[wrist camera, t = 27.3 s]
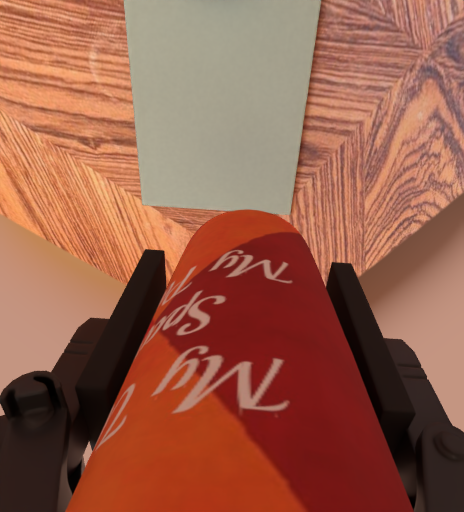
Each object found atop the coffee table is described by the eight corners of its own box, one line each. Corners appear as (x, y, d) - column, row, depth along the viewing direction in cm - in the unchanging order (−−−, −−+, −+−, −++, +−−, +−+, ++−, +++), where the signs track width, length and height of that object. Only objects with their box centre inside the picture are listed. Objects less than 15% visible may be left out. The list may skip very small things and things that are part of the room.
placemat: (342, -155, 21) (344, -158, 21) (289, 213, 34) (290, 215, 33) (110, -165, 22) (108, -168, 21) (143, 203, 34) (142, 205, 34)
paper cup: (232, 141, 13) (-41, 1443, 1) (375, 257, 15) (835, 1086, 3) (127, 277, 16) (-218, 928, 4) (256, 355, 18) (260, 930, 7)
